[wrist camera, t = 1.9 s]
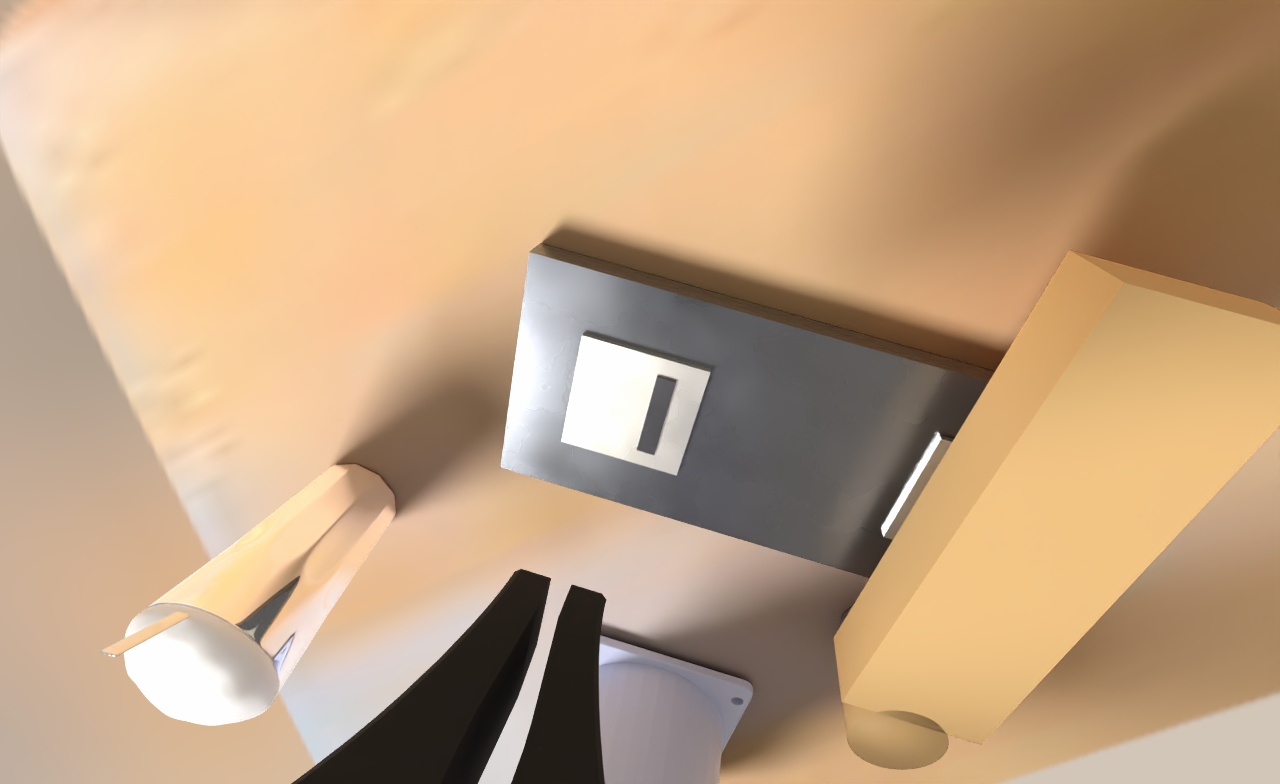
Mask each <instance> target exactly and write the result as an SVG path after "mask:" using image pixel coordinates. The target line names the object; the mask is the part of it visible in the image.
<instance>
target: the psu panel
mask: <svg viewBox="0 0 1280 784" xmlns="http://www.w3.org/2000/svg"><path fill="white" fill-rule="evenodd" d="M994 373H995V371H992V370H989V369H985V368H981V367H978V366H974V365H971V364H967V363H964V362H960V361H957V360H953V359H950V358H946V357H942V356H939V355H935V354H932V353H928V352H925V351H921V350H918V349H914V348H911V347H907V346H903V345H900V344H896V343H893V342H889V341H886V340H882V339H879V338H875V337H871V336H868V335H864V334H861V333H857V332H854V331H850V330H847V329H843V328H840V327H836V326H832V325H829V324H825V323H822V322H818V321H815V320H811V319H808V318H804V317H801V316H797V315H793V314H790V313H786V312H783V311H779V310H776V309H772V308H769V307H765V306H761V305H758V304H754V303H751V302H747V301H744V300H740V299H737V298H733V297H730V296H726V295H722V294H719V293H715V292H712V291H708V290H705V289H701V288H698V287H694V286H691V285H687V284H683V283H680V282H676V281H673V280H669V279H666V278H662V277H659V276H655V275H651V274H648V273H644V272H641V271H637V270H634V269H630V268H627V267H623V266H620V265H616V264H612V263H609V262H605V261H602V260H598V259H595V258H591V257H588V256H584V255H581V254H577V253H573V252H570V251H566V250H563V249H559V248H556V247H552V246H549V245H545V244H542V243H540V244H539V245H538V246H536V247H535V248H534V249H533V250H531V251H530V252H529V259H528V266H527V274H526V281H525V289H524V296H523V303H522V311H521V318H520V326H519V333H518V340H517V348H516V355H515V363H514V370H513V377H512V385H511V392H510V400H509V407H508V414H507V422H506V429H505V437H504V444H503V451H502V459H501V466H500V467H501V468H504V469H507V470H511V471H514V472H518V473H521V474H524V475H528V476H531V477H534V478H538V479H541V480H544V481H548V482H551V483H554V484H558V485H561V486H564V487H568V488H571V489H574V490H578V491H581V492H584V493H588V494H591V495H594V496H598V497H601V498H604V499H608V500H611V501H614V502H618V503H621V504H624V505H628V506H631V507H634V508H638V509H641V510H644V511H648V512H651V513H654V514H658V515H661V516H664V517H668V518H671V519H674V520H678V521H681V522H685V523H688V524H691V525H695V526H698V527H701V528H705V529H708V530H711V531H715V532H718V533H721V534H725V535H728V536H731V537H735V538H738V539H741V540H745V541H748V542H751V543H755V544H758V545H761V546H765V547H768V548H771V549H775V550H778V551H781V552H785V553H788V554H791V555H795V556H798V557H801V558H805V559H808V560H811V561H815V562H818V563H821V564H825V565H828V566H831V567H835V568H838V569H841V570H845V571H848V572H852V573H855V574H858V575H862V576H865V577H868V578H870V577H871V575H872V574H873V572H874V570H875V569H876V567H877V565H878V564H879V562H880V560H881V559H882V557H883V556H884V554H885V552H886V551H887V549H888V547H889V546H890V544H891V542H892V541H893V539H894V537H895V536H896V534H897V532H898V531H899V529H900V528H901V526H902V524H903V523H904V521H905V519H906V518H907V516H908V514H909V513H910V511H911V509H912V508H913V506H914V504H915V503H916V501H917V500H918V498H919V496H920V495H921V493H922V491H923V490H924V488H925V486H926V485H927V483H928V481H929V480H930V478H931V476H932V475H933V473H934V471H935V470H936V468H937V467H938V465H939V463H940V462H941V460H942V458H943V457H944V455H945V453H946V452H947V450H948V448H949V447H950V445H951V443H952V442H953V440H954V439H955V437H956V435H957V434H958V432H959V430H960V429H961V427H962V425H963V424H964V422H965V420H966V419H967V417H968V415H969V414H970V412H971V411H972V409H973V407H974V406H975V404H976V402H977V401H978V399H979V397H980V396H981V394H982V392H983V391H984V389H985V387H986V386H987V384H988V383H989V381H990V379H991V378H992V376H993V374H994Z"/></svg>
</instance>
